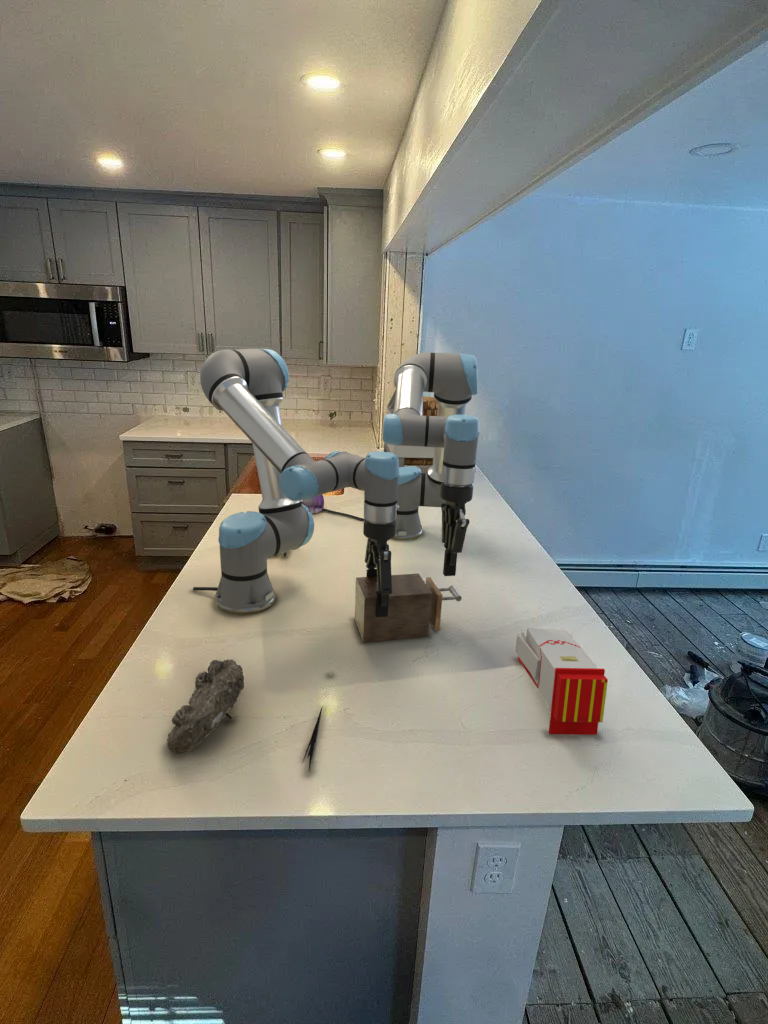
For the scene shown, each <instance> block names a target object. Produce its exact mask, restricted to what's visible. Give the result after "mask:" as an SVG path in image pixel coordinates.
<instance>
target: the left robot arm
mask: <svg viewBox="0 0 768 1024" xmlns="http://www.w3.org/2000/svg"><path fill="white" fill-rule="evenodd" d="M199 378H200V379H199V381H200V386H201V390H202V392H203V394H204V396H205V397H206V399H207V400H208V402H209V403H210V404H211V405H212V406H213V407H214V409H216V410H217V411H222V412H224V413H225V414H226V415H227V416H228V418H230V419H231V421H232V422H233V423H234V424H235V425H236V426H237V428H238V429H239V430H240V431H241V432H242V433H243V434H244V435H245V436H246V437H247V438H248V440H249V441H250V442H251V446H252V450H253V455H254V460H255V467H256V472H257V476H258V481H259V487H260V493H261V498H262V499H261V502H260V503H259V505H258V508H257V509H258V511H254V510H253V511H252V510H251V511H249V510H248V511H245V512H244V511H240V512H236V513H233V514H231V515H228V516H227V517H225V518H224V519H223V520H222V521H221V522H220V524H219V528H218V540H217V541H218V544H219V558H220V559H219V560H220V574H221V575H220V579H219V580H220V581H219V583H218V585H217V587H216V586H213V587H212V586H211V587H210V586H193V588H192V590H193V591H211V592H213V591H214V592H216V593H215V606H216V607H217V609H219V610H220V611H221V612H224V613H226V614H231V615H237V616H246V615H252V614H258V613H261V612H263V611H266V610H267V609H269V608H270V607H271V606H272V605H273V604H275V601H276V592H275V591H276V590H275V589H274V587H273V584H272V581H271V579H270V576H269V574H268V560H269V559H271V558H274V557H275V558H276V557H278V556H279V555H284V553H285V552H287V553H289V552H290V551H295V550H297V549H299V548H301V547H303V546H305V545H307V544H309V542H310V540H311V539H312V537H313V535H314V533H315V519H314V516H313V513H311V512H309V509H308V508H307V507H306V506H305V505H303V504H302V503H301V501H303V500H305V499H311V498H313V497H316V496H319V495H325V494H329V493H333V492H336V491H340V490H342V489H346V488H352V489H356V490H359V491H363V493H364V498H363V499H364V500H363V518H364V519H365V520H364V521H363V530H362V532H363V533H362V534H363V536H364V537H365V538H367V541H366V547H365V556H364V563H365V564H366V565H365V567H366V576H365V577H373V576H377V581H378V591H375V593H376V594H377V601H376V617H388V603H389V594H392V578H391V575H392V553H393V552H392V550H390V544H388V541H389V540H393V539H392V538H393V537H394V536H395V534H396V521H395V519H396V513H397V512H396V509H399V505H397V491H398V481H399V459H398V457H397V455H395V454H393V453H390V452H384V450H383V451H382V450H376V451H371V452H368V453H367V454H366V455H365V457H364V456H360V455H357V454H352V453H350V452H347V451H339V450H334V451H331V452H329V454H328V455H326V456H325V458H324V459H319V460H314V459H313V457H312V456H311V455H310V454H309V453H308V452H307V451H306V450H305V449H304V448H303V447H302V446H301V445H300V444H299V443H298V442H297V441H296V439H294V437H293V436H292V435H291V434H290V433H289V432H288V431H287V430H286V429H285V428H284V427H283V421H282V416H281V410H280V405H281V403H282V402H283V401H284V393H283V392H284V391H285V390H286V389H287V387H288V386H289V384H288V383H289V382H290V373H289V369H288V366H287V363H286V362H285V360H284V359H283V357H282V356H281V355H280V354H279V353H278V352H277V351H275V350H273V349H271V348H261V347H257V348H256V347H255V348H239V349H238V348H237V349H220V350H217V351H215V352H213V353H211V354H210V355H209V356H208V357H206V359H205V360H204V362H203V364H202V367H201V369H200V373H199ZM288 551H289V552H288Z"/></svg>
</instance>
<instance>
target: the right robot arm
mask: <svg viewBox="0 0 768 1024" xmlns="http://www.w3.org/2000/svg"><path fill="white" fill-rule="evenodd" d="M478 378H479V377H478V361H477V358H476V356H475V355H473V354H467V353H462V352H461V353H451V352H431V351H425V352H419V353H416V354H413V355H411V356H410V357H407V358H406V359H405V360H404V361H402V363H400V364H399V366H398V367H397V369H395V373H394V377H393V385H394V388H395V390H396V396H395V404H394V411H393V414H387V415H386V414H385V415H384V416H383V421H382V423H383V424H382V442H383V444H384V443H386V444H391V445H397V446H422V447H434V456H433V465H430V466H428V469H427V472H422V469H421V468H420V467H419V466H418V467H417V466H407V465H406V466H404V467H399V481H398V491H397V505H399V509H396V512H397V513H396V519H395V521H396V534H395V536H394V537H393V538H392V539H391V540H395V541H410V540H415V539H418V538H420V537H421V536H422V535H423V525H422V524H421V518H420V515H419V507H425V508H426V507H427V508H430V507H431V508H440V509H441V510H440V511H441V543H442V544H443V547H444V555H443V556H444V558H443V568H442V574H443V576H444V577H455V576H456V573H457V561H458V554H461V553H462V552H463V549H464V545H465V544H464V543H465V540H466V534H467V530H468V527H469V525H470V519H469V518H466V511H467V510H466V504H467V503H469V502H471V501H472V500H473V494H474V485H473V484H474V481H475V473H476V472H477V469H476V461H477V452H478V443H479V436H480V433H481V432H480V419H478V417H476V416H473V415H469V414H466V406H467V405H468V404H469V403H470V402H471V401H472V397H473V396H475V395H478V390H479V380H478ZM424 393H433V397H434V399H435V400H436V401H437V402H438V411H437V416H422V407H423V397H424ZM301 503H302V505H303V500H301ZM321 512H326V513H330V514H334V515H339V516H344V517H348V518H352V519H355V520H358V521H362V522H364V520H365V518H364V517H359V516H356V515H353V514H349V513H345V512H340V511H335V510H331V509H328V508H323V509H322V511H321Z"/></svg>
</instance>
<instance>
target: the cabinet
mask: <svg viewBox="0 0 768 1024" xmlns="http://www.w3.org/2000/svg"><path fill="white" fill-rule="evenodd" d="M391 578H392V594H389V603H388V617H376V601H377V594H376V593H375V591H378V581H377V576H373V577H366V576H360V577H358V576H357V577H355V592H354V593H355V595H354V621H355V624H356V627H357V629H358V632H359V635H360V638H361V640H362V643H371V642H372V643H373V642H383V641H393V640H404V639H413V638H414V639H415V638H424V637H425V638H427V637H429V634H430V633H429V632H430V609H431V596H432V593H431V591H430V590H429V588H428V587H427V585H426V581H424V579H423V577H422V576H421V574H420V573H417V572H416V573H405V574H404V573H403V574H391Z"/></svg>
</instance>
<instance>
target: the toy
mask: <svg viewBox="0 0 768 1024" xmlns="http://www.w3.org/2000/svg"><path fill="white" fill-rule="evenodd" d="M520 632H521V633H520V634H519V633H518V634H517V635H516V642H515V647H514V653H515V654H516V655H517V660H518V661H519V663H520V664H521V666H522V667H523V669H524V670H525V672H526V673H527V675H528V676H529V678H530V680H531V681H532V683H533V684H534V685H535V687H536V688H537V689H538V692H539V694H540V696H541V697H542V699H543V701H544V702H545V704H546V706H547V708H548V710H549V711H550V716H549V724H548V734H549V735H566V736H567V735H568V736H569V735H571V736H575V735H576V736H597V735H598V730H599V723H603V722H604V714H605V705H606V698H607V689H608V682H609V680H608V678H607V677H606V676H605V674H606V669H604V668H599V667H598V666H597V664H596V663H594V662H593V660H592V659H591V657H589V655H588V654H587V653H586V652H585V650H584V649H583V648H582V647H581V646H580V644H579V643H578V642H577V641H576V640H575V639H574V637H573V636H572V635H571V634H570V632H569V631H568V630H567V629H566V628H535V627H534V628H533V627H532V628H531V627H529V628H526V630H523V629H521V631H520Z"/></svg>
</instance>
